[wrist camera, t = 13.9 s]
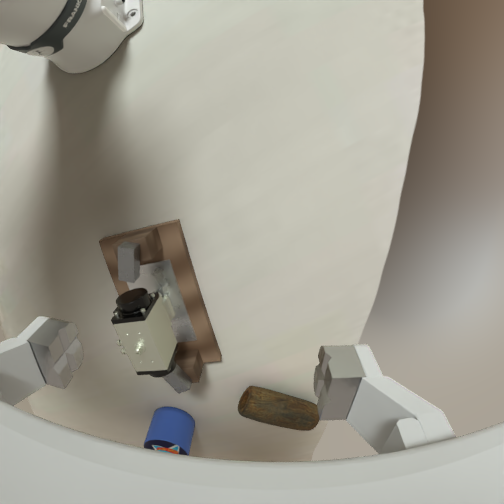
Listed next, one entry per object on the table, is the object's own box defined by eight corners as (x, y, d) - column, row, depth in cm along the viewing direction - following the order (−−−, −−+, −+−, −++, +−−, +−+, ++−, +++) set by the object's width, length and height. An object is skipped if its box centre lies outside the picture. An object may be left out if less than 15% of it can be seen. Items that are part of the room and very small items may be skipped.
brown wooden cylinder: (235, 399, 55) (233, 425, 49) (249, 376, 53) (247, 402, 46) (305, 416, 57) (308, 441, 50) (322, 395, 54) (327, 420, 48)
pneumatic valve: (164, 268, 44) (135, 310, 32) (188, 335, 48) (170, 386, 36) (131, 274, 44) (97, 315, 33) (156, 338, 48) (134, 388, 37)
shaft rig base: (103, 238, 44) (83, 252, 38) (179, 219, 43) (166, 232, 37) (153, 362, 52) (143, 385, 46) (221, 355, 51) (217, 380, 45)
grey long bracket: (111, 237, 42) (89, 253, 36) (159, 225, 42) (142, 241, 35) (163, 366, 51) (153, 394, 44) (206, 362, 50) (200, 392, 43)
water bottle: (158, 400, 56) (125, 503, 32) (201, 416, 57) (182, 521, 33) (149, 422, 59) (119, 515, 35) (188, 437, 60) (169, 531, 36)
